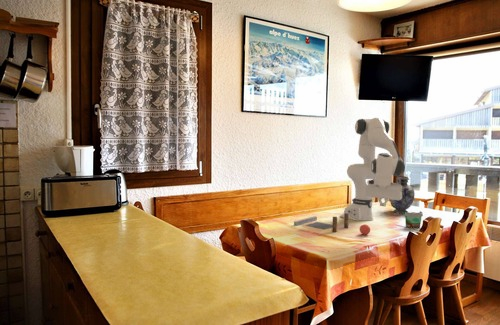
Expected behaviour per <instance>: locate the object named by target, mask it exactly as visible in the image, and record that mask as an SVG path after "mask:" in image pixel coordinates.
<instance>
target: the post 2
mask: <svg viewBox="0 0 500 325" xmlns="http://www.w3.org/2000/svg"><path fill="white" fill-rule="evenodd" d="M343 214H344V217H343V218H344V219H343V228H344V229H349V220H350V219H349V214H348V213H344V212H343Z"/></svg>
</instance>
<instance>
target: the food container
mask: <svg viewBox="0 0 500 325" xmlns="http://www.w3.org/2000/svg"><path fill="white" fill-rule="evenodd" d="M423 215H424V214H423V212H422V211H421V210H419V212H412V211H411V212H410V211H408V212H405V214H404V216H405V219H404V220H405V228H408V229H420V228H421V223H422V217H423Z"/></svg>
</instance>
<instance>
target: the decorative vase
mask: <svg viewBox="0 0 500 325" xmlns="http://www.w3.org/2000/svg"><path fill="white" fill-rule="evenodd" d="M409 180H410V178H409V177H408V176H406V175H405V176H404V175H403V176H402V175H400V176H396V178H395V183H399V184H401V185H402V199H401V200H392V199H389V202H390V205H391V207H392V208H393V209H394V210H392V212H393V213H395V212H396V213H395V214H402V213H405V212H409V211H407V210H408V209H410V207H412V205H413V202H414V199H415V189H414V188H413V187H412V185H411V186H410V185H409V184H408V183H409ZM401 185H400V186H401Z"/></svg>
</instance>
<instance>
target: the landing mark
mask: <svg viewBox="0 0 500 325" xmlns="http://www.w3.org/2000/svg"><path fill="white" fill-rule="evenodd" d="M305 226H306V227H311V228H315V229H319V230H327V229H332V224H329V223H323V222H321V221H314V222H313V223H312V222H311V223H309V224H308V223H307V224H305Z"/></svg>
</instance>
